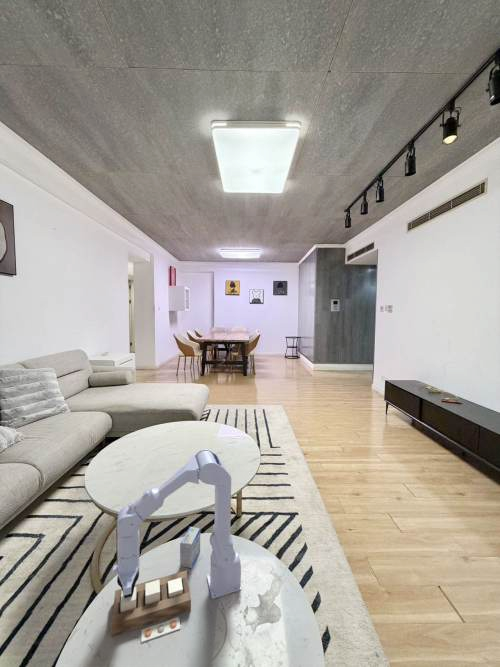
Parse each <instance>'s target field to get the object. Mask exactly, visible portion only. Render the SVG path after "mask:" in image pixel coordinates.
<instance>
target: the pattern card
mask: <svg viewBox="0 0 500 667" xmlns="http://www.w3.org/2000/svg"><path fill="white" fill-rule="evenodd" d="M180 622H181V621H180V617H179V616H178V617H175V618H172V619H169V620H167V621H164V622H160V623H157V624H155V625H152V626H149V627H145V628H143V629H141V634H140V636H141V637H140V638H141V643H145V642H147V641H150V640H151V641H152V640H154V639H156V638H159V637H162V636H164V635H165V636H166V635H169V634H171V633H173V632H177V631H179V630H181V624H180Z"/></svg>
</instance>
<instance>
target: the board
mask: <svg viewBox="0 0 500 667" xmlns="http://www.w3.org/2000/svg"><path fill="white" fill-rule="evenodd" d="M178 578H181V579H182V587H183V594H181V595H178V596H175V597H171V598H168V581H171V580H174V579H178ZM156 580H160V601H159V602H155V603H152V604H149V605H146V606H145V583H149V582H152V581H156ZM135 587H136V609H133V610H130V611H126V612H123V613H121V592H122V588H119V589H116V590H114V596H113V598H114V599H113V606H112V617H111V625H110V626H111V627H110V628H111V633H110V634H111V638H113V637H116V636H118V635H122V634H125V633H127V632H131V631H133V630H137V629H140V628H143V627H146V626H149V625H151V624H154V623H158V622H161V621H163V620H167V619H170V618H173V617H176V616H179V615H181V614H182V615H183V614H185V613H187V612H190V611H192V597H191V596H192V595H191V592H190V591H191V590H190V584H189V580H188V572H187V570H184V571H180V572H175V573H172V574H169V575H165V576H162V577H159V578H155V579H151V580H149V581H145V582H140V583H137V584H135Z"/></svg>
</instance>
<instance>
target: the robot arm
mask: <svg viewBox="0 0 500 667" xmlns="http://www.w3.org/2000/svg"><path fill="white" fill-rule="evenodd" d="M199 480H200V481H199ZM200 482H201V483H204V484H206V485H211V486H214V525H213V526H212V532H211V534H210V537H209V543H210V545H211V549H212V551H211V554H210V574H207V575H206V578H207V584H208V587H209V593H210V597H211V599H217V598H220V597H223V596H226V595H228V594H230V595H231V594H232V593H235V592H238V591H241V590H242V586H241V583H242V582H241V580H242V578H241V577H242V565H241V564H242V563H241V558H240V555H239V552H238V551H235V549H234V543H233V537H232V533H231V532H232V531H231V520H232V518H231V517H232V516H231V515H232V514H231V513H232V512H231V511H232V510H231V508H232V507H231V506H232V477H231V474H230V472H229V470H228V469H227V467H225V465H224V463H222V461H221V460H220V458H219V456H218V455H217V453H215V452H214V451H211V450H210V449H207V448H203V449H200V450H198V451H197V453H196V454H195V455H192V456H190V458H189V459H188V461H187V462H186V463H185V464H184V465H183V466H182V467H180V468H179V469H178V470H177V471H176V472H175V473H174V474H173V475H171V477H169V478H168V479H167V480H166V481H165V482H164V483H162V485H160V486H159V487H152V488H151V489H149V490H147V489H146V490H145V491H144V492H143V494H142V495H141V496H140V497H139V498H138V499H136V500H135V501H134V502H131V503H130V504H127V505H125V506H123V507H122V508H121V509H120V510H119V512H118V514H117V522H116V533H117V538H116V539H117V542H116V543H117V548H116V550H117V551H116V552H117V564H115V565H114V566H113V567H112V573H113V574H117V579H116V580H117V581H116V582H117V585H118V586H119V587H120V589H122V591H123V596H124V598H128V597H131V596H132V595H133V592H134V587H135V585H136V583H137V582H138V579H139V577H140V567H141V566H140V565H141V559H140V531H139V530H140V526H141V525H142V524H143V522H145V521H146V520H147V519H148V518H149V517H151V516H152V515H153V514H154V513H156V512H157V511H158V510H159V509H160V508H161V507H163V505H164V502H165V499H167V498H168V497H169V496H170V495H172V494H173V493H176V491H177V490H179V489H181V488H182V487H183V486H184V485H186V484H188V483H192V484H195V485H196V484H197V485H199V484H200Z"/></svg>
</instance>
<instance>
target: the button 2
mask: <svg viewBox="0 0 500 667" xmlns="http://www.w3.org/2000/svg"><path fill="white" fill-rule="evenodd" d="M181 594H183V587H182V579H181V578H178V579H174V580H171V581H168V598H171V597H175V596H178V595H181Z"/></svg>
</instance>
